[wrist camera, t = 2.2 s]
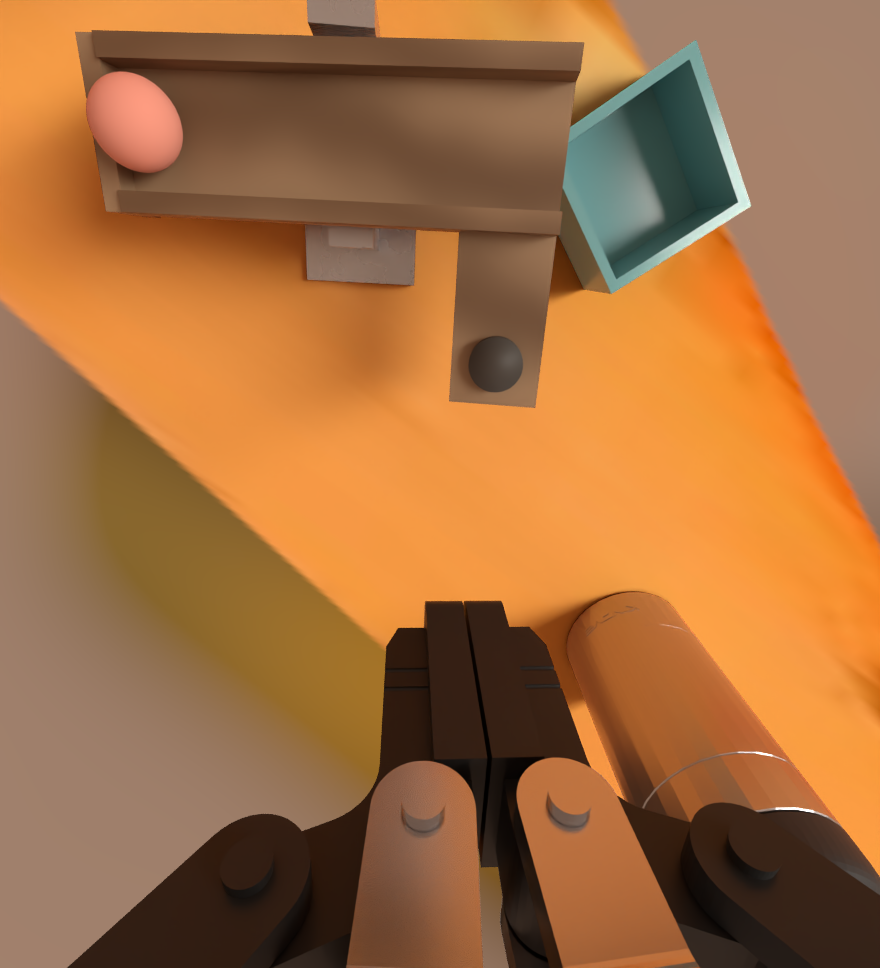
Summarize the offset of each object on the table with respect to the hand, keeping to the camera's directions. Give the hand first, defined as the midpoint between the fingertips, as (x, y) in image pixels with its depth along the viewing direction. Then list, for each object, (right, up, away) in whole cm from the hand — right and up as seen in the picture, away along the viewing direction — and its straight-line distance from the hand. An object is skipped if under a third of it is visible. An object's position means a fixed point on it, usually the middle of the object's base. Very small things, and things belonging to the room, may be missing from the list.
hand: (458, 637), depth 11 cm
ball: (-12, +17, +10) cm, 23 cm away
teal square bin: (+9, +19, +19) cm, 29 cm away
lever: (-5, +14, +13) cm, 20 cm away
